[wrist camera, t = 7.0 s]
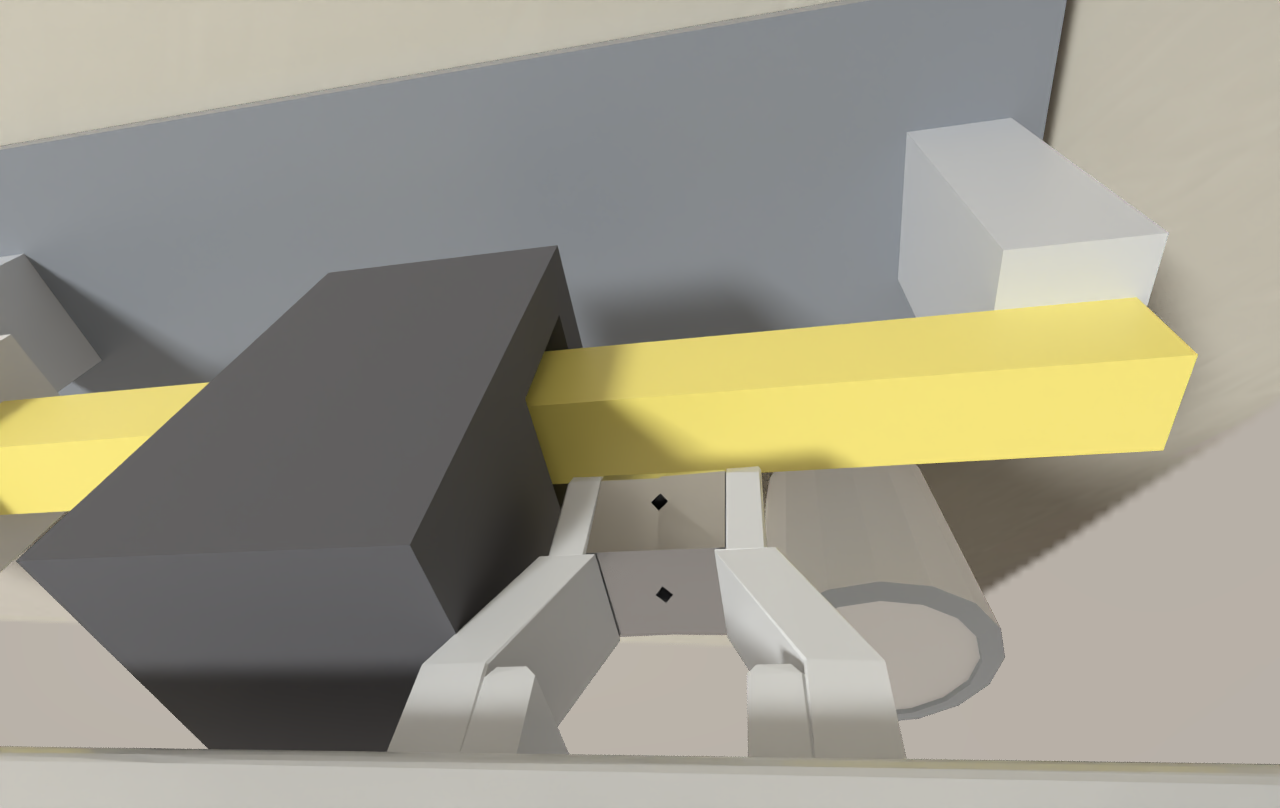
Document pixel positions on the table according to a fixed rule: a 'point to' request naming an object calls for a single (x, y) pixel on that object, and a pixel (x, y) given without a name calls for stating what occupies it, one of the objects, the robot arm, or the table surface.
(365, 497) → the sleeve
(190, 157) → the yellow beam on plate
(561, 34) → the table surface
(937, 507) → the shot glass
